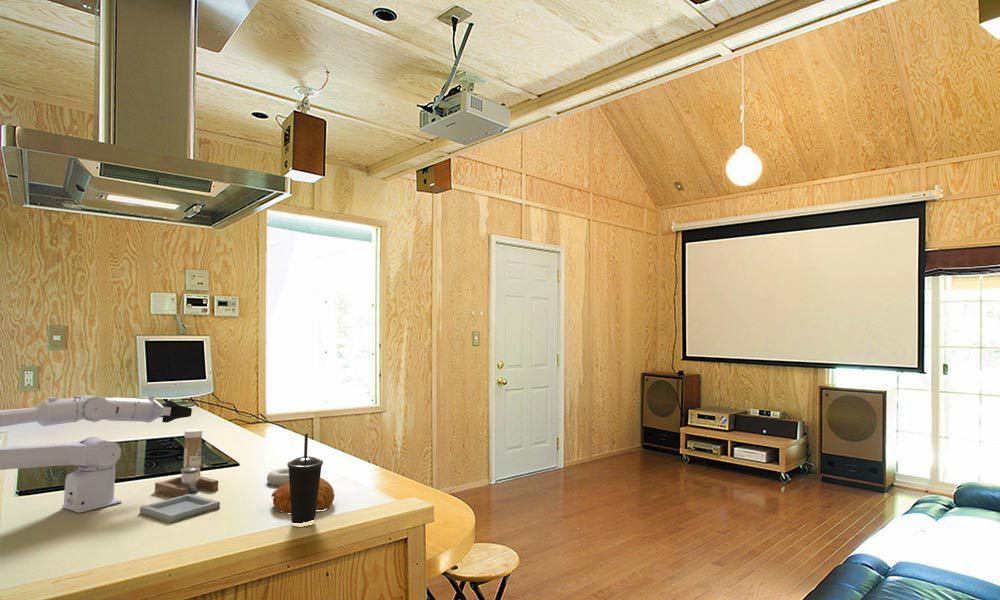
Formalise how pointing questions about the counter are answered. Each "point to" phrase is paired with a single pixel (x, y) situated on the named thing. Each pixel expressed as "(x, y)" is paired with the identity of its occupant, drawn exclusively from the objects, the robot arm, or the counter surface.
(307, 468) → the drinking cup
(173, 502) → the dish
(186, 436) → the sprinkles bottle
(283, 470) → the donut
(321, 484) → the croissant
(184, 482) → the salt shaker
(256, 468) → the counter surface
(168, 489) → the notch block
